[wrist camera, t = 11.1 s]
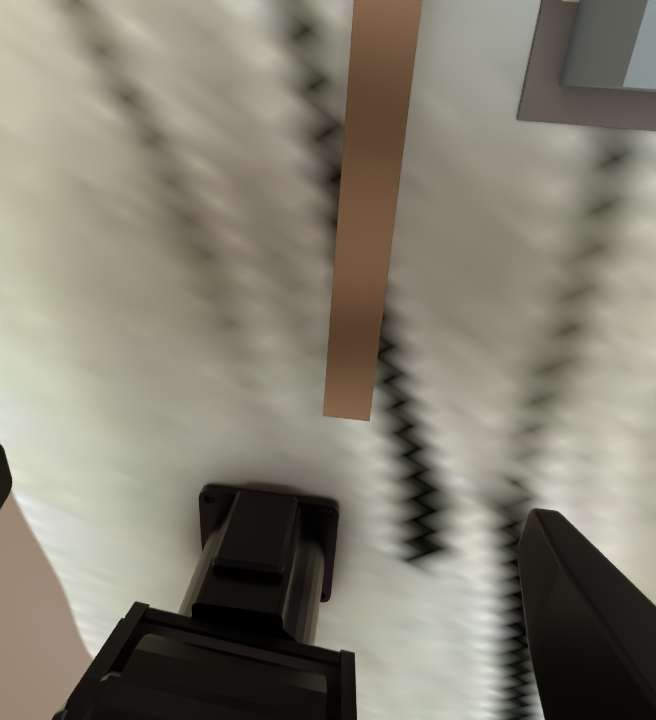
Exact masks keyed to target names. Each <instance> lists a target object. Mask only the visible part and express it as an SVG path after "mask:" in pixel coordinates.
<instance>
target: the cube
mask: <svg viewBox="0 0 656 720" xmlns="http://www.w3.org/2000/svg"><path fill="white" fill-rule="evenodd" d="M559 85H569V86H581V87H594V88H606V89H619V90H631V91H644V92H656V0H580V1H579V5H578V9H577V13H576V17H575V21H574V25H573V29H572V33H571V38H570V42H569V46H568V50H567V54H566V58H565V62H564V66H563V70H562V74H561V79H560V83H559Z"/></svg>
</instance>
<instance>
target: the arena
mask: <svg viewBox="0 0 656 720" xmlns="http://www.w3.org/2000/svg"><path fill="white" fill-rule="evenodd" d="M579 1H580V0H542V2H541V7H540V12H539V16H538V21H537V26H536V31H535V35H534V40H533V45H532V49H531V54H530V59H529V63H528V68H527V73H526V78H525V82H524V87H523V92H522V96H521V101H520V106H519V110H518V115H517V120H525V121H537V122H550V123H562V124H575V125H588V126H600V127H613V128H625V129H638V130H651V131H656V92H644V91H631V90H619V89H606V88H594V87H581V86H569V85H559V83H560V79H561V74H562V70H563V66H564V62H565V58H566V54H567V50H568V46H569V42H570V38H571V33H572V29H573V25H574V21H575V17H576V13H577V9H578V5H579ZM421 3H422V0H354V9H353V23H352V36H351V49H350V63H349V76H348V89H347V103H346V116H345V129H344V143H343V156H342V169H341V183H340V196H339V209H338V223H337V236H336V249H335V262H334V276H333V289H332V302H331V316H330V329H329V342H328V356H327V369H326V382H325V396H324V409H323V416H328V417H337V418H345V419H354V420H363V421H369V420H370V412H371V404H372V396H373V388H374V380H375V372H376V364H377V356H378V348H379V340H380V332H381V324H382V316H383V308H384V300H385V292H386V284H387V276H388V268H389V260H390V252H391V244H392V236H393V228H394V220H395V212H396V204H397V196H398V188H399V180H400V172H401V164H402V156H403V148H404V140H405V132H406V124H407V116H408V108H409V100H410V91H411V83H412V75H413V67H414V59H415V51H416V43H417V35H418V27H419V19H420V11H421Z"/></svg>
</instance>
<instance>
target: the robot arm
mask: <svg viewBox="0 0 656 720" xmlns="http://www.w3.org/2000/svg"><path fill="white" fill-rule="evenodd" d="M11 487H12V476H11V472H10V469H9V465H8V461H7V458H6V454H5V450H4V448H3V446H2V445H1V444H0V509H1V507H2V506H3V504H4V502H5V500H6V499H7V497H8V495H9V493H10V491H11ZM208 495H211V496H213V497H209V496H208ZM199 510H200V526H201V543H202V555H201V557H200V560H199V562H198V565H197V567H196V570H195V572H194V575H193V577H192V580H191V582H190V585H189V587H188V590H187V592H186V595H185V597H184V600H183V602H182V605H181V607H180V610H179V612H178V614H177V613H172V612H168V611H164V610H160V609H155V608H151V607H149V606H150V605H149V604H145V603H141V602H137V601H135V603H134V604H133V606H132V607H131V609H130V610H129V612H128V613H127V615H126V616H125V618H121V619H120V621H119V622H118V624H117V626H116V627H115V629H114V630H113V632H112V633H111V635H110V636H109V638H108V639H107V641H106V642H105V644H104V645H103V647H102V648H101V650H100V651H99V653H98V654H97V656H96V657H95V659H94V660H93V662H92V663H91V665H90V666H89V668H88V669H87V671H86V672H85V674H84V675H83V677H82V679H81V680H80V682H79V683H78V685H77V686H76V688H75V689H74V691H73V692H72V694H71V695H70V697H69V699H68V700H67V701H66V702H65V703H64V704H63V705H62V707H61V708H60V709H59V710H58V711H57V712H56V713H55V715H54V716H53V718H52V720H357V707H356V678H355V653H354V652H349V651H345V650H340V652H338V651H334V650H330V649H326V648H321V647H317V646H314V642H315V635H316V627H317V620H318V613H319V605H320V602H327V601H328V600H329V599H330V596H331V587H332V578H333V568H334V558H335V548H336V539H337V529H338V519H339V505H338V504H337V503H336V502H334V501H332V500H328V499H320V498H311V497H303V496H295V495H287V494H279V493H271V492H263V491H255V490H247V489H239V488H231V487H223V486H215V485H207V486H204V487H203V488H202V490H201V492H200V495H199ZM325 510H330V511H332V512H326V511H325ZM518 564H519V572H520V581H521V589H522V597H523V606H524V614H525V623H526V631H527V639H528V646H529V652H530V657H531V662H532V667H533V671H534V675H535V679H536V684H537V688H538V692H539V697H540V701H541V705H542V709H543V714H544V718H545V720H656V606H655V605H654V604H653V603H652V602H651V601H650V600H649V599H648V598H647V597H646V596H645V595H644V594H643V593H642V592H641V591H640V590H639V589H638V588H637V587H636V586H635V585H634V584H633V583H632V582H631V581H630V580H629V579H628V578H627V577H626V576H625V575H624V574H623V573H622V572H621V571H620V570H618V569H617V568H616V567H615V566H614V565H613V564H612V563H611V562H610V561H609V560H608V559H607V558H606V557H605V556H604V555H603V554H602V553H601V552H600V551H599V550H598V549H597V548H596V547H595V546H594V545H593V544H592V543H591V542H590V541H589V540H588V539H587V538H586V537H585V536H584V535H583V534H581V533H580V532H579V531H578V530H577V529H576V528H575V527H574V526H573V525H572V524H571V523H570V522H569V521H568V520H567V519H566V518H565V517H564V516H563V515H562V514H561V513H559V512H558V511H555V510H547V509H539V508H534V509H532V510H531V511H530V512H529V514H528V517H527V520H526V523H525V526H524V529H523V532H522V535H521V539H520V542H519V546H518ZM321 592H322V593H321Z"/></svg>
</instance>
